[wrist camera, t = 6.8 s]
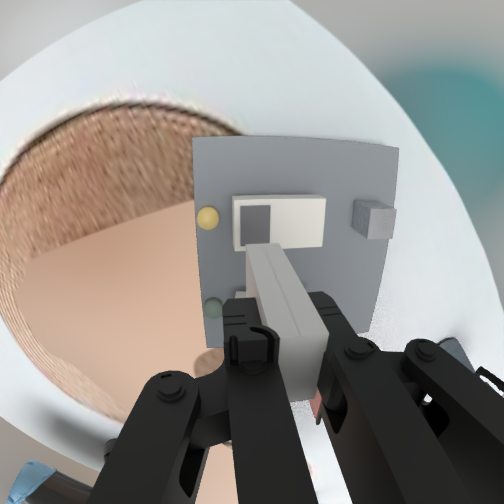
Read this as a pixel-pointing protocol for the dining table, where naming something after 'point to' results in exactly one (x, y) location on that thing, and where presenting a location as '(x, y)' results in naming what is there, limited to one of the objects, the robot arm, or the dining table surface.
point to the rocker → (278, 220)
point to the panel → (292, 183)
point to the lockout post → (373, 219)
